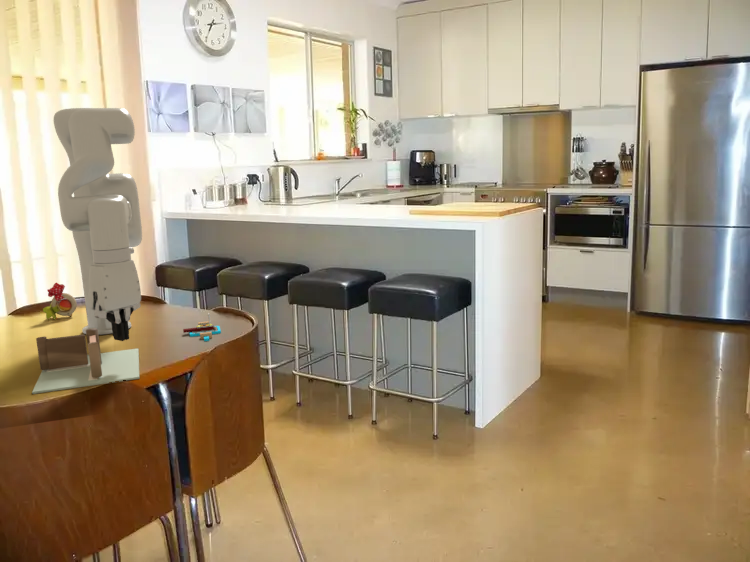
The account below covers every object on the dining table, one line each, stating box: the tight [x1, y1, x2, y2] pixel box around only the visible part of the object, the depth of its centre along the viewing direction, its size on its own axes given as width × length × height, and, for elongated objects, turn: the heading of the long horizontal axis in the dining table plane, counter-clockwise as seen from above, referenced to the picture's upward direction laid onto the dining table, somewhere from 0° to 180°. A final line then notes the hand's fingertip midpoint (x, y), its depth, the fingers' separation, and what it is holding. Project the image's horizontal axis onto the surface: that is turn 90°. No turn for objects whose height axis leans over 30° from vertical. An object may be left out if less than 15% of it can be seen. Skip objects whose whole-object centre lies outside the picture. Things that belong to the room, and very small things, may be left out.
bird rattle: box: [42, 282, 78, 320], centre depth 204 cm, size 6×11×9 cm
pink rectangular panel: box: [87, 335, 102, 378], centre depth 142 cm, size 2×11×7 cm, turn 24°
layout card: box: [31, 348, 140, 395], centre depth 146 cm, size 25×20×1 cm
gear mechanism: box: [182, 312, 222, 342], centre depth 175 cm, size 20×5×9 cm
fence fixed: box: [35, 328, 102, 371], centre depth 147 cm, size 2×12×8 cm, turn 110°
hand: (121, 339), depth 145 cm, fingers closed
